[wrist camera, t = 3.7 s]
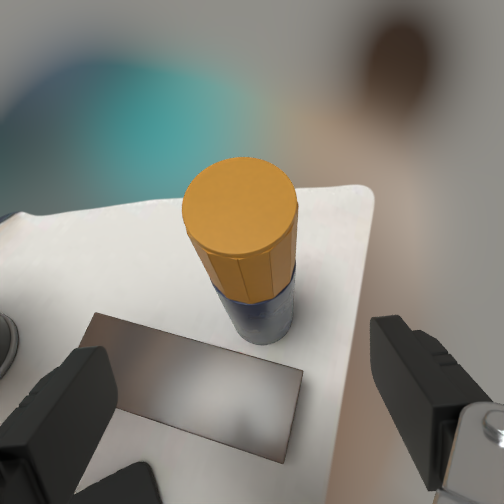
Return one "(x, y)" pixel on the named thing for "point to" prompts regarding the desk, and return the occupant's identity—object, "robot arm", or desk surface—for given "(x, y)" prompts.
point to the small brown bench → (200, 386)
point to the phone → (122, 488)
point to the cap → (243, 227)
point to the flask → (262, 315)
